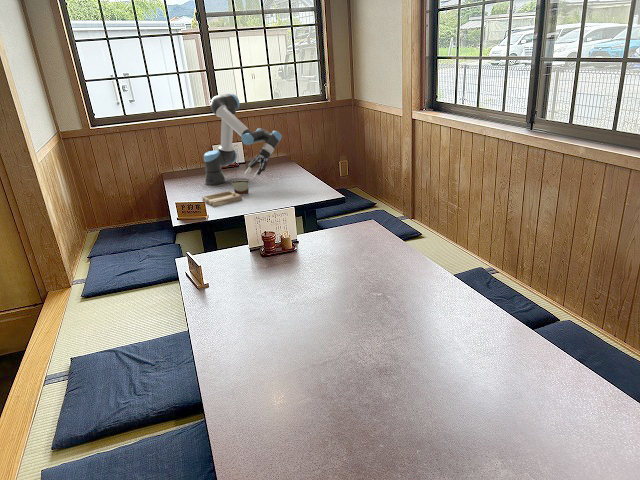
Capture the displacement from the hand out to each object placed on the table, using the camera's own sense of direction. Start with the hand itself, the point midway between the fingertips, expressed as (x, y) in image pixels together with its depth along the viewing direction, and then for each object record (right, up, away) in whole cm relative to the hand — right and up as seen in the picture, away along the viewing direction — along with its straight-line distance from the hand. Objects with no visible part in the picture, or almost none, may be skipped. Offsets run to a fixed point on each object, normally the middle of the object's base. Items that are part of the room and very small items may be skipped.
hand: (249, 177), depth 330 cm
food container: (-5, -11, +2) cm, 12 cm away
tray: (-16, -17, -12) cm, 27 cm away
